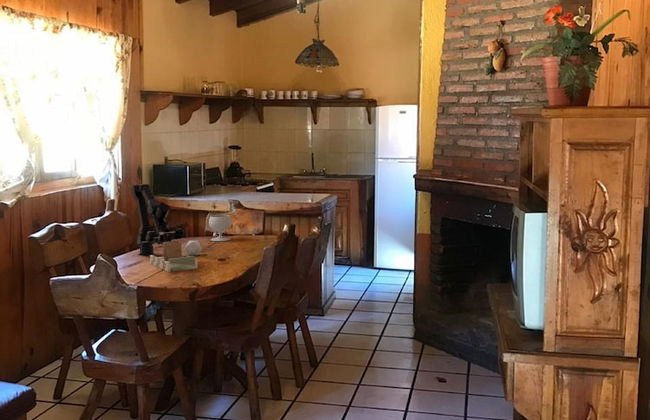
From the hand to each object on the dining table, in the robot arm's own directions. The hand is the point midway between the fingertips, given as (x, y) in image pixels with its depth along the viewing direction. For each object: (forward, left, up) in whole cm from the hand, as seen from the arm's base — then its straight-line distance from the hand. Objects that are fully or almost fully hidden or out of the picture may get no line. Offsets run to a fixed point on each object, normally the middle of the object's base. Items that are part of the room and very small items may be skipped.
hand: (170, 248), depth 338 cm
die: (-3, +26, -9) cm, 28 cm away
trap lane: (+3, -2, -8) cm, 9 cm away
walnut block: (+3, -2, -5) cm, 6 cm away
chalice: (-14, +73, -9) cm, 75 cm away
